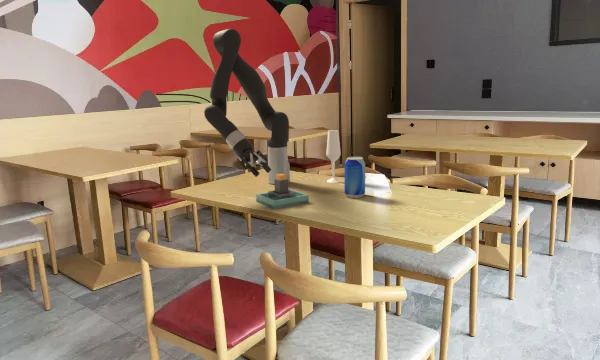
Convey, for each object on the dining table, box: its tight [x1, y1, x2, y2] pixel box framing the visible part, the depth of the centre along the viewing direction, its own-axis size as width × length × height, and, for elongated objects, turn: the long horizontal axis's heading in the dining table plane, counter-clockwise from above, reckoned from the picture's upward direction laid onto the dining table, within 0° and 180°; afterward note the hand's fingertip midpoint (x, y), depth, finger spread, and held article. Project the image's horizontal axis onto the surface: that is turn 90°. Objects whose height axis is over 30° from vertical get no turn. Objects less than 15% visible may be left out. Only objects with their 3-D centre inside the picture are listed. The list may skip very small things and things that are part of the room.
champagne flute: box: [325, 129, 341, 184], centre depth 228 cm, size 7×7×24 cm
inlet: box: [268, 189, 296, 200], centre depth 195 cm, size 8×8×3 cm
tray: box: [255, 188, 310, 210], centre depth 195 cm, size 16×14×3 cm
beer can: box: [344, 156, 366, 199], centre depth 201 cm, size 8×8×16 cm
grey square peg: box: [273, 174, 290, 194], centre depth 194 cm, size 4×4×10 cm
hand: (263, 173), depth 197 cm, fingers open, 8 cm apart
